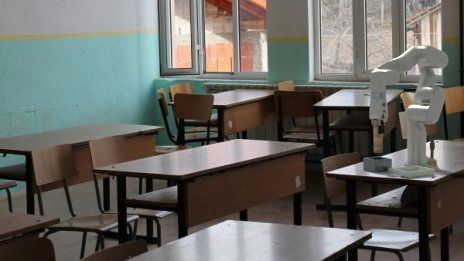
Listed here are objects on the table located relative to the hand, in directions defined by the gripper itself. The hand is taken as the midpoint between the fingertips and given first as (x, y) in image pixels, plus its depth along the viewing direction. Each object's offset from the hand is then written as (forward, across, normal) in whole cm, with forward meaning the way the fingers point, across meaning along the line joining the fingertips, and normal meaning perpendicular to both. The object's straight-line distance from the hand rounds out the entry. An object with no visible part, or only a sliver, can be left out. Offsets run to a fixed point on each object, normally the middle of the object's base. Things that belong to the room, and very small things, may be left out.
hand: (378, 132), depth 429 cm
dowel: (+10, 0, 0) cm, 10 cm away
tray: (+20, -14, -9) cm, 26 cm away
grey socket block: (+20, 0, +1) cm, 20 cm away
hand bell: (+20, -8, -26) cm, 34 cm away
